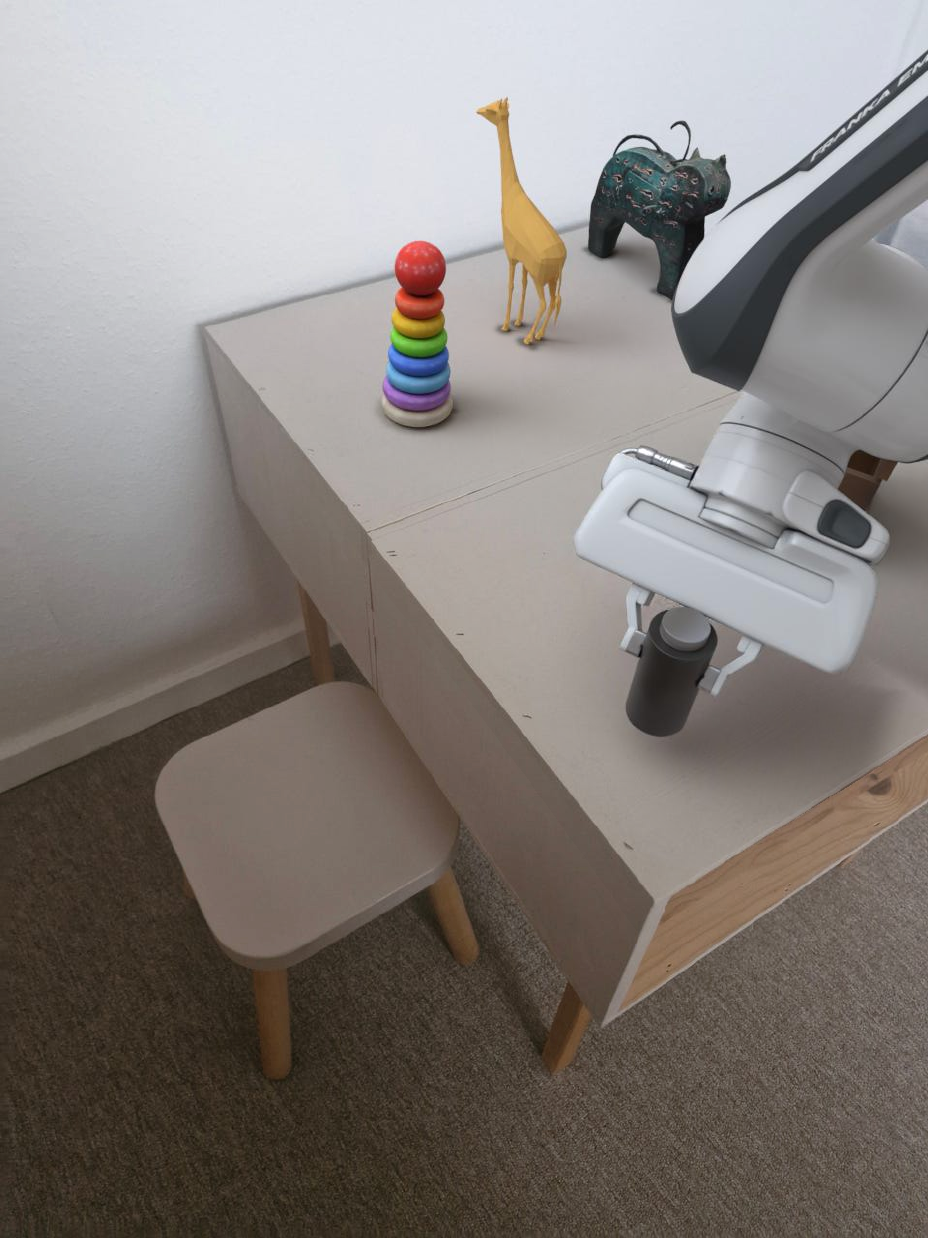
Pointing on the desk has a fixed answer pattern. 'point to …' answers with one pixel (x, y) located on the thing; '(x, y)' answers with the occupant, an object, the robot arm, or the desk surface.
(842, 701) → the desk surface
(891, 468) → the chest door
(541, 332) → the giraffe
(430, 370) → the stacking toy
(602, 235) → the ceramic cat
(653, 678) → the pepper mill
